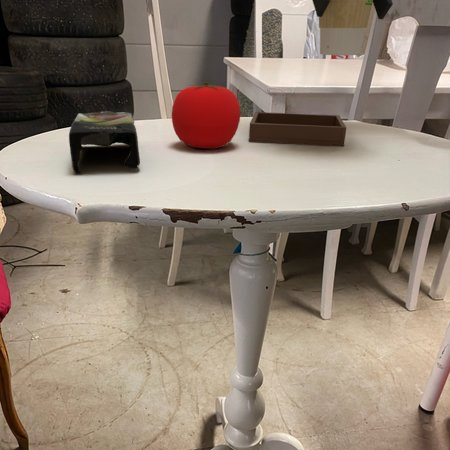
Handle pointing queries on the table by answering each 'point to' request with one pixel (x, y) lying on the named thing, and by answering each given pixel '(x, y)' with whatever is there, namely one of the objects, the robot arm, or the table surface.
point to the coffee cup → (344, 26)
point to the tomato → (205, 116)
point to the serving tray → (297, 129)
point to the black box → (104, 134)
